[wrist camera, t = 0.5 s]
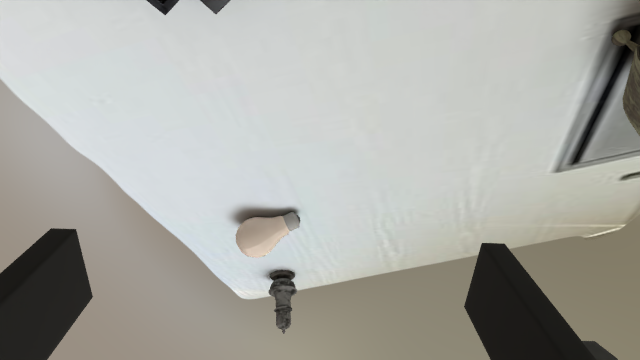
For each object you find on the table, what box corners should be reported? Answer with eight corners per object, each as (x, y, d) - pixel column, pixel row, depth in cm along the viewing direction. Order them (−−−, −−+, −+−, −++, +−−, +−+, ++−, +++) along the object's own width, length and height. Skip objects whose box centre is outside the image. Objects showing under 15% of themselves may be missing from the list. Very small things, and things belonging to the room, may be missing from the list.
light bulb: (302, 228, 59) (236, 258, 59) (310, 241, 65) (250, 268, 64) (288, 193, 62) (224, 221, 62) (296, 208, 68) (238, 234, 67)
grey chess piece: (262, 276, 82) (262, 334, 75) (282, 267, 80) (283, 326, 72) (282, 283, 86) (283, 339, 79) (302, 275, 83) (305, 332, 76)
